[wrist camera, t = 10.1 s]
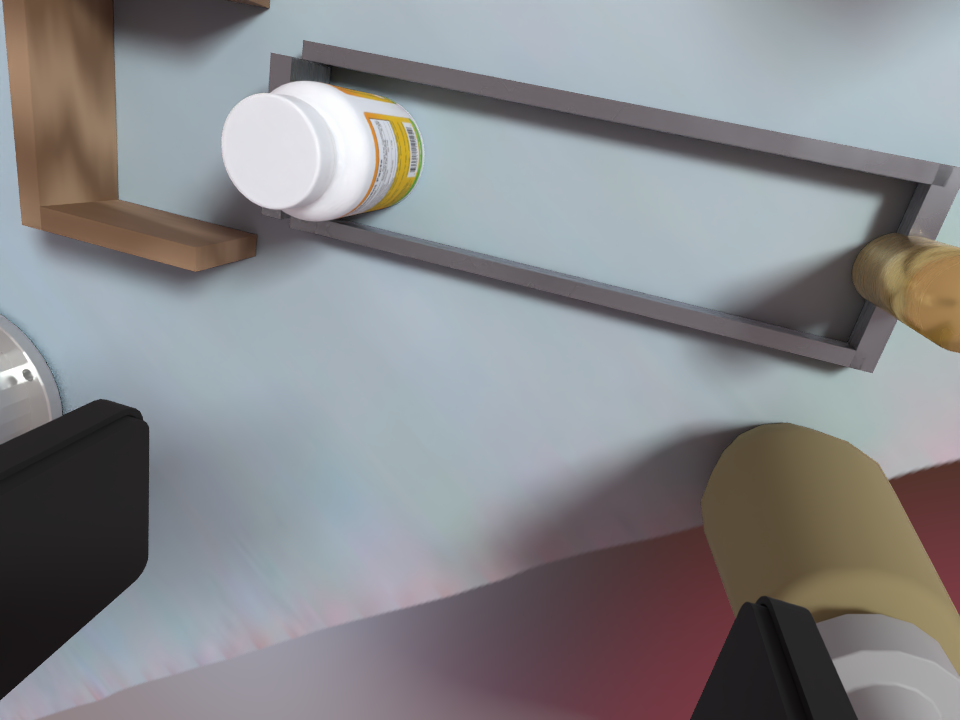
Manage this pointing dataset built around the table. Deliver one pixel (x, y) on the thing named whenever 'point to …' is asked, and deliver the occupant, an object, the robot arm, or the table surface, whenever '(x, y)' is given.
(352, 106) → the supplement bottle
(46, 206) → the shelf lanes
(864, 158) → the gray rectangular frame
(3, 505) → the robot arm
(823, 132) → the table surface
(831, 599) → the squeeze bottle
